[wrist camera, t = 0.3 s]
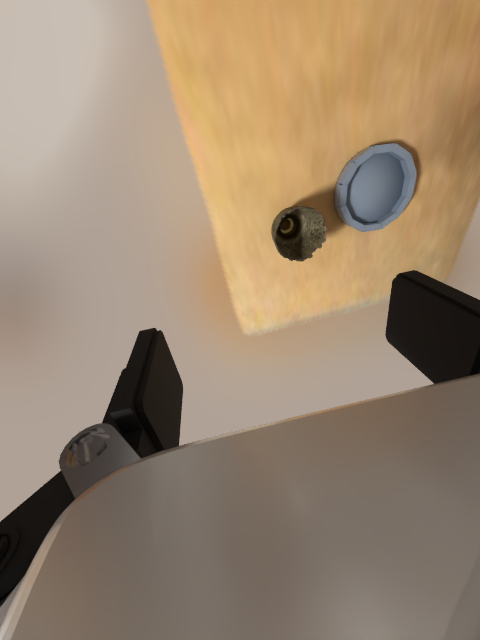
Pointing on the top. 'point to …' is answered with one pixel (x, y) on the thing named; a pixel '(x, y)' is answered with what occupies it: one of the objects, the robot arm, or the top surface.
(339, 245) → the top surface
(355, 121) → the top surface
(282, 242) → the cup
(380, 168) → the dish
